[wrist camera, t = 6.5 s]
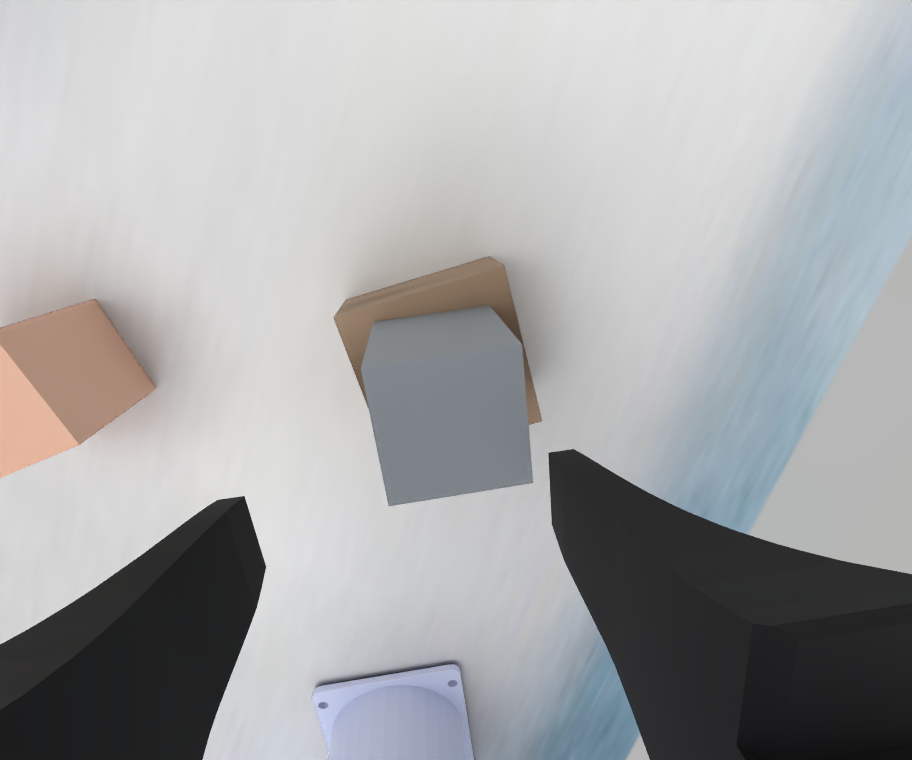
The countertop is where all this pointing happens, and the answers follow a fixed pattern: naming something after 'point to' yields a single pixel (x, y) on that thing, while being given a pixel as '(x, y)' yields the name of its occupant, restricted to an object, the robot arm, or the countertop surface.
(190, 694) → the robot arm
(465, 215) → the countertop surface
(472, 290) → the walnut block
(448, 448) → the slate block
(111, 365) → the terracotta block
